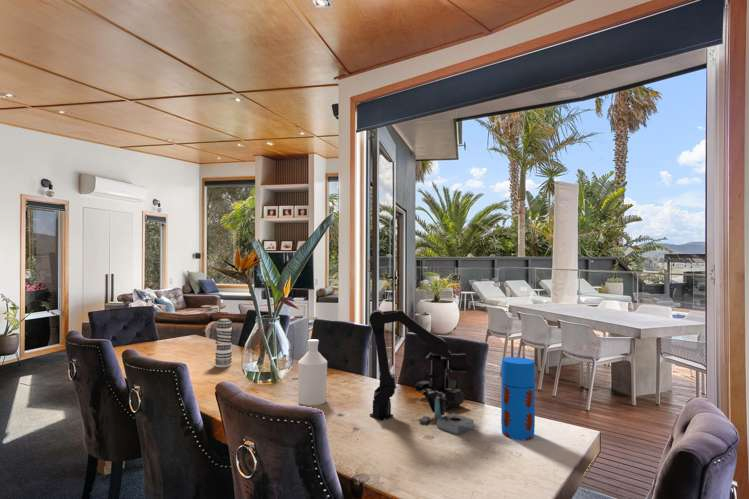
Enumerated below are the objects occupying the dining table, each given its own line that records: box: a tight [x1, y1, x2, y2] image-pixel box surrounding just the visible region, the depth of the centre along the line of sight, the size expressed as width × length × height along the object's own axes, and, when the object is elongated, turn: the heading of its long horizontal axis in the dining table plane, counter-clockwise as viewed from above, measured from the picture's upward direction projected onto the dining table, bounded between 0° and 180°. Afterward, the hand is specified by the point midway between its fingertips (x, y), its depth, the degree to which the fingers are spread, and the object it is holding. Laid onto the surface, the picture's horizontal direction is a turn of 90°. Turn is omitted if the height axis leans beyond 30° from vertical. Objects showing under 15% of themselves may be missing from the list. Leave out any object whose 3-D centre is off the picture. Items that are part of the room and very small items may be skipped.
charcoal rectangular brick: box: [419, 415, 431, 425], centre depth 165 cm, size 5×2×2 cm, turn 157°
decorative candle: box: [214, 318, 234, 368], centre depth 247 cm, size 9×9×25 cm
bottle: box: [297, 338, 328, 406], centre depth 187 cm, size 12×12×25 cm
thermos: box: [500, 356, 536, 441], centre depth 154 cm, size 11×11×25 cm
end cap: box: [436, 387, 465, 410], centre depth 181 cm, size 10×7×7 cm
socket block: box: [436, 413, 475, 436], centre depth 159 cm, size 9×9×3 cm
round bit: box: [434, 397, 443, 420], centre depth 169 cm, size 3×3×7 cm
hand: (438, 413), depth 169 cm, fingers open, 4 cm apart
